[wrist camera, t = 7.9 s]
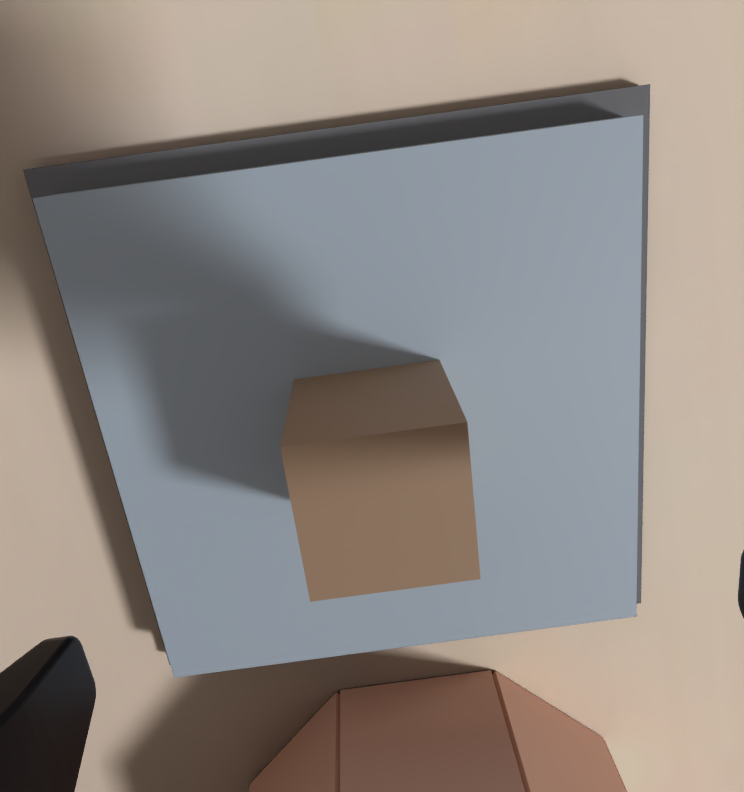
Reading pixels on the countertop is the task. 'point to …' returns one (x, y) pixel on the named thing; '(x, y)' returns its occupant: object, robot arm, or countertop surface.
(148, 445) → the lid
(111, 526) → the countertop surface
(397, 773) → the dish
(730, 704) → the countertop surface
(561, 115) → the mat
